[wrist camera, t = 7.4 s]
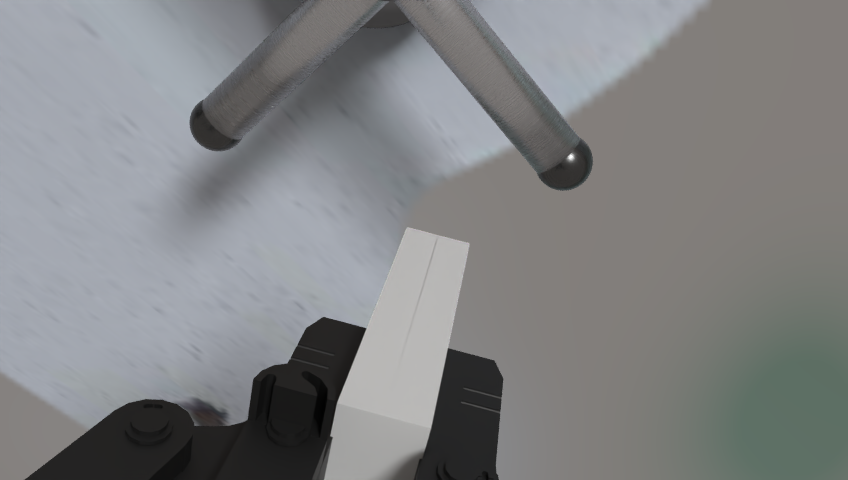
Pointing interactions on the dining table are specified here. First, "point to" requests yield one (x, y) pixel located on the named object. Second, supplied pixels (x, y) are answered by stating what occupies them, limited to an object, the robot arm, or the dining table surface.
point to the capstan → (449, 37)
